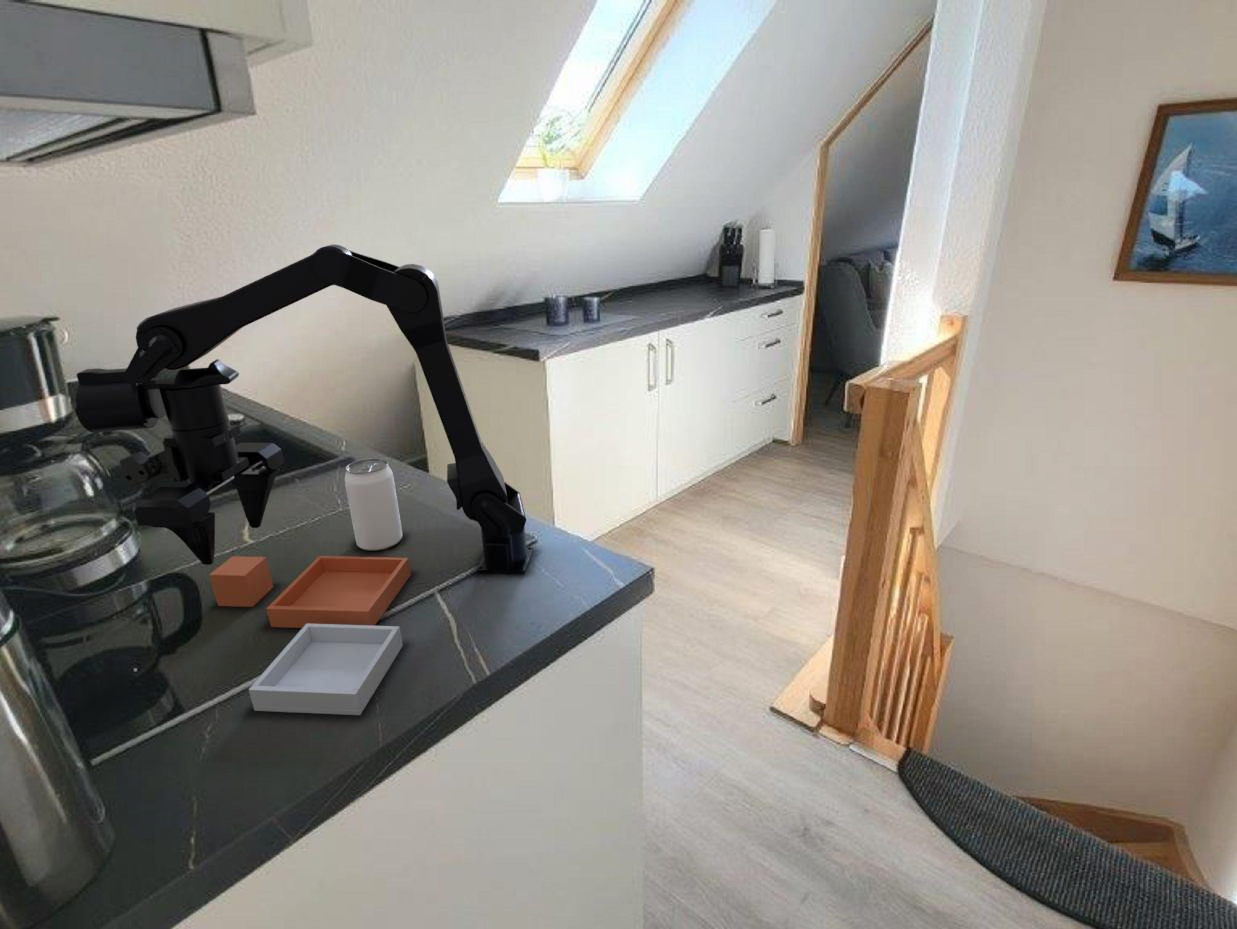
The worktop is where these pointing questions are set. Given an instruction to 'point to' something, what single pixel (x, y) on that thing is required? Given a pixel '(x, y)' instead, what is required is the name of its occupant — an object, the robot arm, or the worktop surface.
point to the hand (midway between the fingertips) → (233, 544)
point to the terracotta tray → (340, 592)
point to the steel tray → (327, 669)
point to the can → (373, 504)
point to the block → (241, 581)
